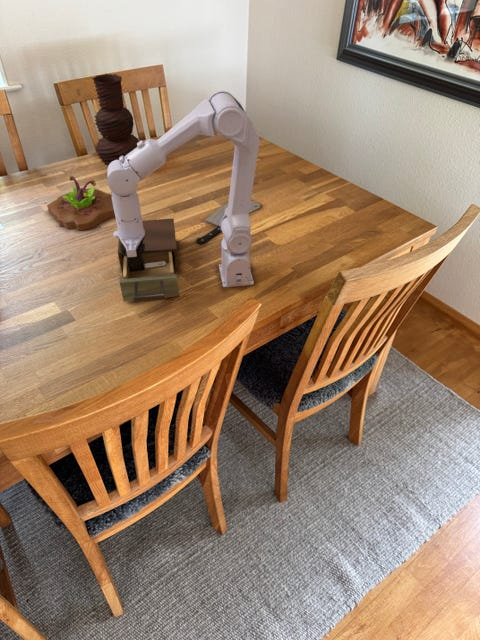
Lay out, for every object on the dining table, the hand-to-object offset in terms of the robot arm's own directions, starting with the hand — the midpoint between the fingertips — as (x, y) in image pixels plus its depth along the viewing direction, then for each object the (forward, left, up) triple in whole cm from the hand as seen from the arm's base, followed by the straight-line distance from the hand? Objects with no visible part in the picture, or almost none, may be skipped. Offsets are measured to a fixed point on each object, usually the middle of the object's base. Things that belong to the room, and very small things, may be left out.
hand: (136, 264), depth 113 cm
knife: (0, -3, -1) cm, 3 cm away
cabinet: (+12, -3, -7) cm, 14 cm away
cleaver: (+29, -25, -7) cm, 39 cm away
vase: (+68, +6, -7) cm, 68 cm away
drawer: (-2, -3, -6) cm, 7 cm away
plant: (+40, +17, -7) cm, 44 cm away
